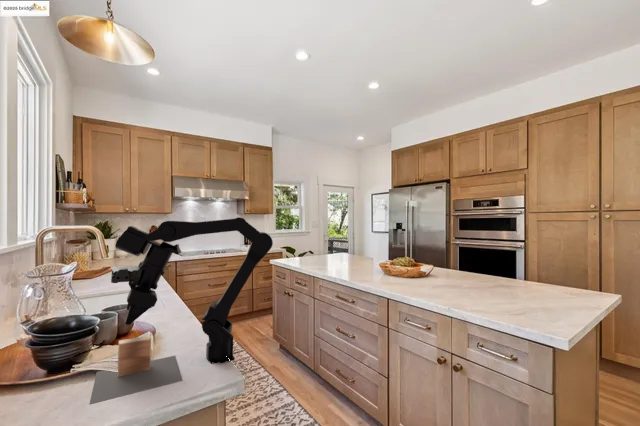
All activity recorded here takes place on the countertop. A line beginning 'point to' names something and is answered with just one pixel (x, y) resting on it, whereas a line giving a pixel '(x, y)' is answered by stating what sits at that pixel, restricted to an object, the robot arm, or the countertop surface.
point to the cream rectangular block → (134, 355)
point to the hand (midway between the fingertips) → (127, 316)
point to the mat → (135, 380)
